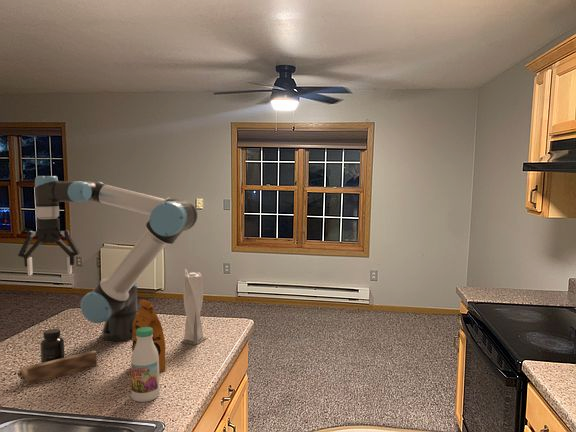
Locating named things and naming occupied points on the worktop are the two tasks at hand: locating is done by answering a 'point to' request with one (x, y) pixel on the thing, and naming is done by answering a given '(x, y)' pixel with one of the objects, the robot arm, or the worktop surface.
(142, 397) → the milk bottle
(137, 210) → the robot arm
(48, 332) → the supplement bottle
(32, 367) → the walnut shelf
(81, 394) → the worktop surface
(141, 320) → the orange brown carved sculpture
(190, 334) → the skyscraper
